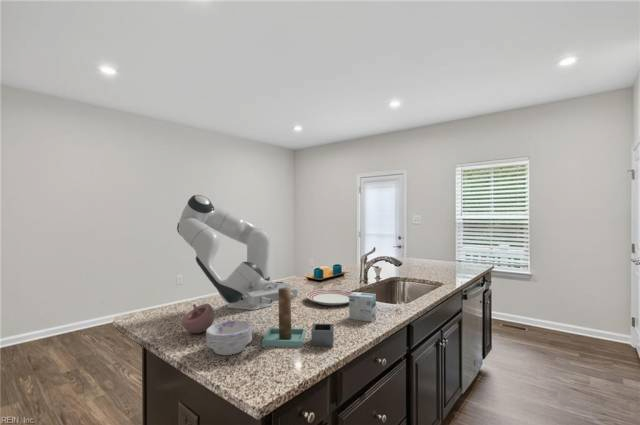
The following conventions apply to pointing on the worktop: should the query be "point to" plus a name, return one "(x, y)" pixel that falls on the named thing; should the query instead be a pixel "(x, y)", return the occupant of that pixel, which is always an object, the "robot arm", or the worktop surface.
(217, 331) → the paper bowls
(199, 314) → the mortar and pestle
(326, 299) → the dinner plate
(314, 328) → the grey square socket base
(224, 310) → the worktop surface
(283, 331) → the dowel pin
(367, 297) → the light bulb box
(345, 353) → the worktop surface
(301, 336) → the tray
